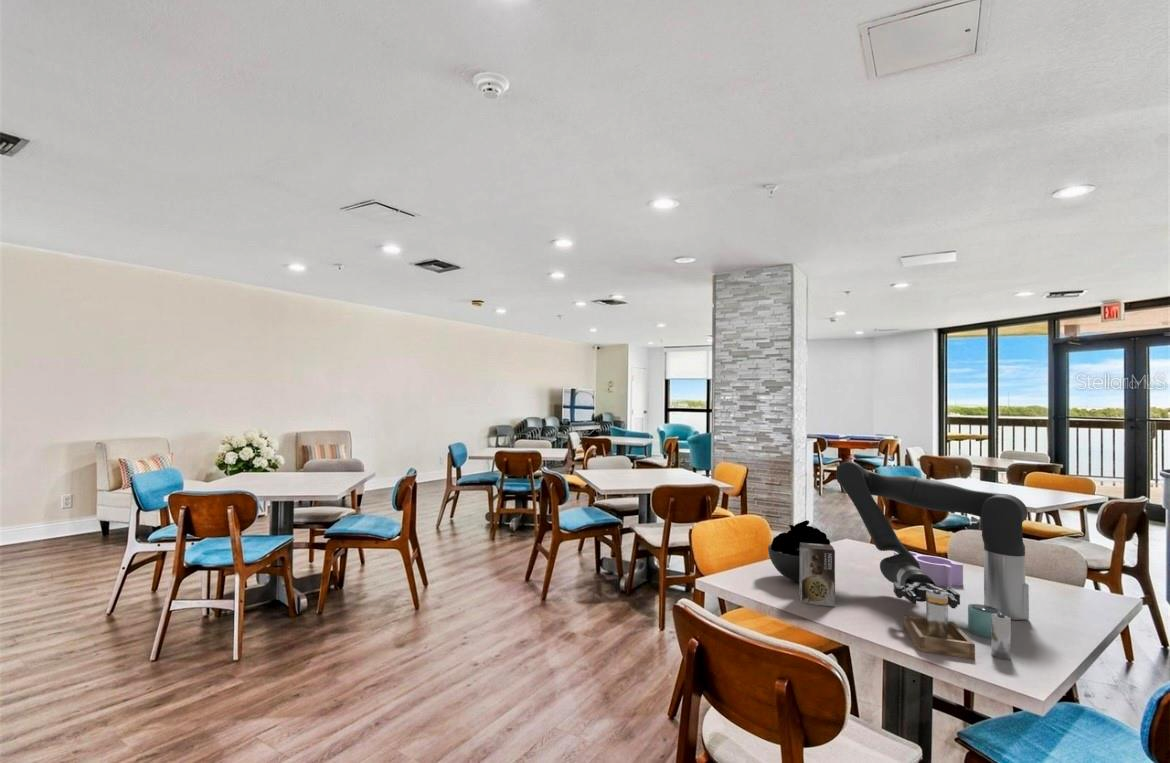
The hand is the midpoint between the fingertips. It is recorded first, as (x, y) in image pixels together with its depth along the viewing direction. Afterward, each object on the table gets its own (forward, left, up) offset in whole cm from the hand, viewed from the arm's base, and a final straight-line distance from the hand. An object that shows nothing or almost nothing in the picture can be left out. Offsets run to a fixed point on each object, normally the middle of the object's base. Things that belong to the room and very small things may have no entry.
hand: (934, 602), depth 135 cm
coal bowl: (+28, -36, -9) cm, 47 cm away
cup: (-14, -9, -9) cm, 19 cm away
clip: (-13, -57, -9) cm, 60 cm away
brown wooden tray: (0, +3, -9) cm, 9 cm away
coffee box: (+25, -17, -9) cm, 32 cm away
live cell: (0, +3, -8) cm, 8 cm away
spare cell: (-12, +6, -9) cm, 16 cm away
